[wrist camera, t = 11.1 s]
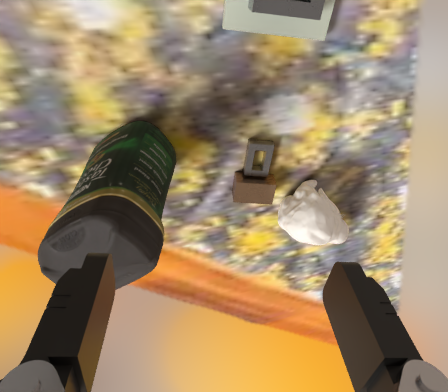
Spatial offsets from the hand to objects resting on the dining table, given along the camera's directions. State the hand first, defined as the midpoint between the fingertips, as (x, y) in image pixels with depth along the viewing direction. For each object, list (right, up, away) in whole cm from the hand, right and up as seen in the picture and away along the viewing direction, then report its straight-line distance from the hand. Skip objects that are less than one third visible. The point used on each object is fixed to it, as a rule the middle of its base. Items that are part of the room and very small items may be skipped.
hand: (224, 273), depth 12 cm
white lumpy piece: (+12, +2, +35) cm, 37 cm away
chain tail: (+4, +6, +30) cm, 31 cm away
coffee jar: (-11, +8, +28) cm, 31 cm away
